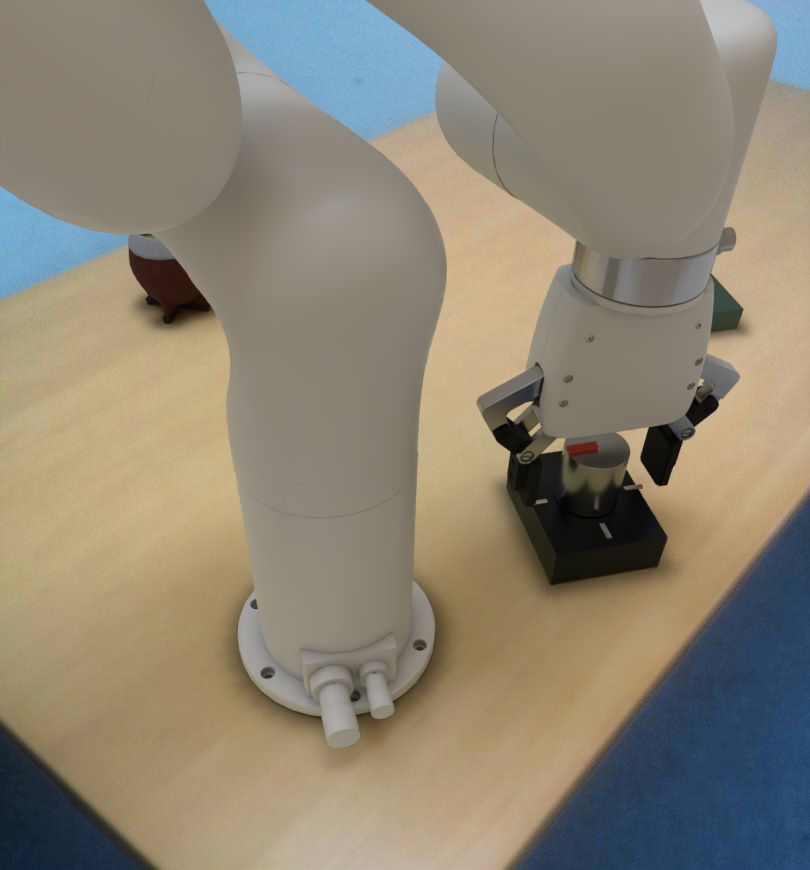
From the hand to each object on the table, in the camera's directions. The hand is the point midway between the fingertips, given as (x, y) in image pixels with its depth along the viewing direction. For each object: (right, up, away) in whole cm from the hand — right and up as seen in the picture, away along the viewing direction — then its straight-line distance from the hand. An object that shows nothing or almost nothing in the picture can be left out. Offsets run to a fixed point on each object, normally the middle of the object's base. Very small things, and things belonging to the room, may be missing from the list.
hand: (588, 482), depth 61 cm
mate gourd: (-35, +18, +22) cm, 45 cm away
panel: (0, -3, +3) cm, 4 cm away
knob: (0, -1, +1) cm, 1 cm away
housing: (+12, +19, +24) cm, 33 cm away
